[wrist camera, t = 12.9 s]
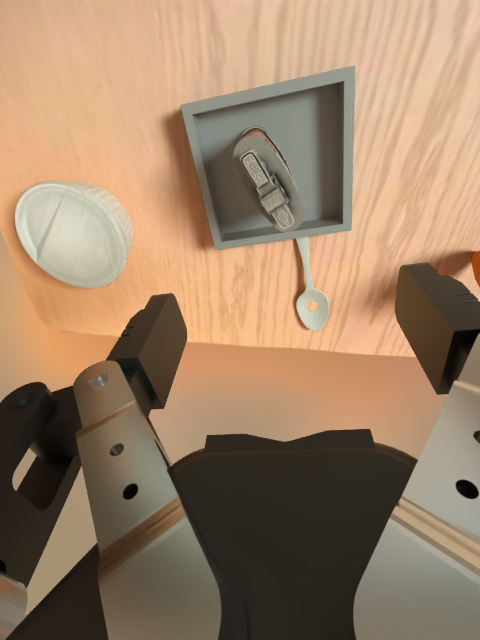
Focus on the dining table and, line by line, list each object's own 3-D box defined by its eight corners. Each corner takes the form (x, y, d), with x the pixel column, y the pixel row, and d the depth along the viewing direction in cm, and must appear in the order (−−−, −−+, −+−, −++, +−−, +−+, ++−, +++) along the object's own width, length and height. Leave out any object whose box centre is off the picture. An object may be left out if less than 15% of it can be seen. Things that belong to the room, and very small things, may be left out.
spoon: (299, 327, 43) (300, 334, 42) (269, 168, 32) (269, 171, 30) (330, 322, 42) (332, 330, 41) (311, 156, 31) (313, 159, 29)
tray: (347, 67, 26) (355, 65, 24) (345, 220, 34) (351, 230, 31) (187, 104, 29) (180, 105, 26) (218, 239, 36) (215, 250, 34)
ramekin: (31, 164, 33) (-5, 175, 28) (137, 178, 33) (117, 191, 29) (57, 261, 39) (31, 282, 35) (145, 272, 39) (130, 295, 35)
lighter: (305, 194, 32) (317, 229, 24) (276, 213, 33) (278, 252, 25) (262, 116, 28) (260, 127, 20) (232, 140, 29) (218, 159, 21)
